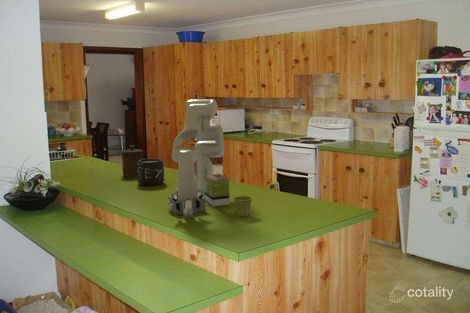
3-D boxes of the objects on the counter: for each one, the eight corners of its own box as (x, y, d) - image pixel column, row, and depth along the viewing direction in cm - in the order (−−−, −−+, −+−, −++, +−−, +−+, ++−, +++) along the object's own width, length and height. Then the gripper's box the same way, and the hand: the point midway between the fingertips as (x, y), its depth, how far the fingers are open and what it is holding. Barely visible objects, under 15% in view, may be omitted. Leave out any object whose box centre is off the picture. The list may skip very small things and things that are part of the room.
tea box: (204, 200, 281) (203, 174, 279) (221, 198, 284) (220, 173, 282) (212, 206, 267) (211, 179, 265) (230, 204, 270) (229, 177, 268)
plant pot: (229, 215, 249) (229, 198, 248) (243, 211, 256) (242, 195, 254) (243, 218, 243) (242, 201, 241) (256, 214, 249) (256, 197, 248)
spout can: (191, 215, 251) (191, 195, 249) (194, 217, 246) (193, 197, 245) (182, 216, 249) (181, 196, 248) (184, 218, 245) (183, 198, 243)
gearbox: (198, 205, 271) (197, 187, 270) (205, 211, 258) (205, 193, 257) (166, 208, 265) (165, 191, 264) (171, 215, 252) (171, 196, 251)
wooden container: (131, 173, 370) (129, 143, 367) (148, 174, 364) (146, 144, 361) (118, 176, 357) (116, 146, 354) (135, 178, 351) (133, 146, 347)
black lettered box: (132, 186, 323) (131, 162, 320) (144, 181, 340) (142, 158, 337) (158, 187, 318) (157, 163, 316) (169, 181, 336) (168, 158, 333)
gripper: (201, 172, 251) (202, 205, 254) (167, 175, 245) (169, 209, 248) (205, 175, 244) (207, 209, 247) (170, 178, 238) (172, 213, 241)
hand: (187, 209), depth 247 cm, fingers open, 9 cm apart
